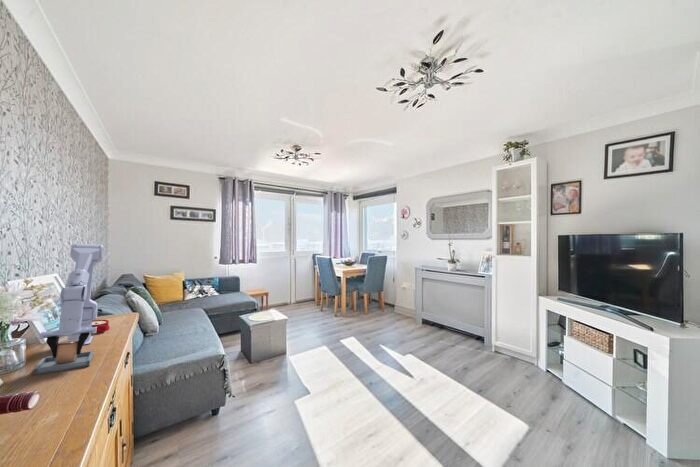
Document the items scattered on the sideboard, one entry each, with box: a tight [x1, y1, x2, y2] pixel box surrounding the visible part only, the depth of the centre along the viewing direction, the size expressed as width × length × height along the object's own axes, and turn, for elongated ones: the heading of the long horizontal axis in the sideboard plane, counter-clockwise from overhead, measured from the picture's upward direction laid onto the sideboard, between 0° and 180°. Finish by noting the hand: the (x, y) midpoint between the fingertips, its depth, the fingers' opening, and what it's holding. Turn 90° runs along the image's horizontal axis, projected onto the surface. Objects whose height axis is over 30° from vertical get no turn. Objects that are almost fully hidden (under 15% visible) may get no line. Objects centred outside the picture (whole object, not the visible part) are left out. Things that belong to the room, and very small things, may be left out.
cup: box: [55, 340, 79, 364], centre depth 98 cm, size 6×6×6 cm
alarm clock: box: [92, 319, 110, 334], centre depth 131 cm, size 10×6×15 cm
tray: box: [32, 350, 95, 376], centre depth 98 cm, size 11×14×2 cm
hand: (66, 355), depth 98 cm, fingers closed on cup, 5 cm apart
